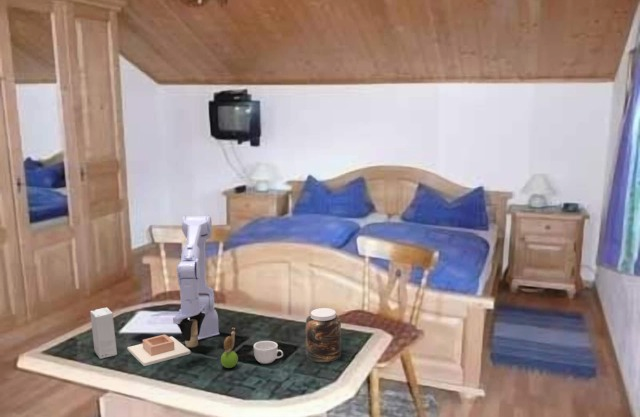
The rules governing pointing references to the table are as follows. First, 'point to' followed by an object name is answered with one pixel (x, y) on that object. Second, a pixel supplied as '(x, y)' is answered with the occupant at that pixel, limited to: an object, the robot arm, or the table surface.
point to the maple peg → (193, 335)
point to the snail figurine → (229, 352)
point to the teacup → (266, 351)
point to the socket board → (158, 350)
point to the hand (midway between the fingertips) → (191, 337)
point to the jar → (323, 335)
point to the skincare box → (103, 332)
